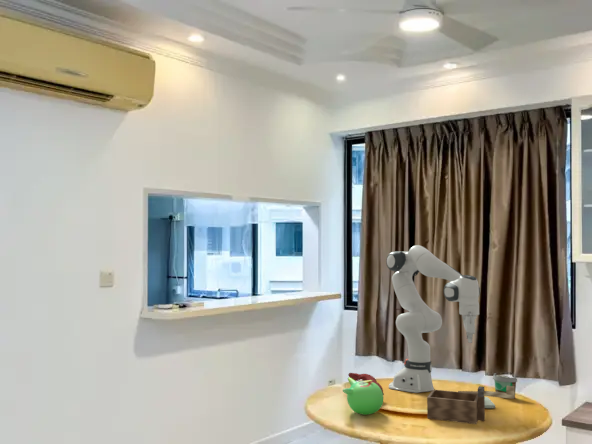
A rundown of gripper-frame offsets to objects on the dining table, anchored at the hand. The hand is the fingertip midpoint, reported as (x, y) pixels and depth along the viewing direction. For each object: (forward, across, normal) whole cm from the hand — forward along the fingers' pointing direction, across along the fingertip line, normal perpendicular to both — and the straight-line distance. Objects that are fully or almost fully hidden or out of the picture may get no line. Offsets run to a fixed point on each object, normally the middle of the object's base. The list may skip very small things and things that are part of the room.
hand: (469, 340), depth 277 cm
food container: (+29, +17, -16) cm, 38 cm away
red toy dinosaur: (+29, +6, +47) cm, 56 cm away
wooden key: (+19, -24, -10) cm, 32 cm away
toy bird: (+29, -24, +46) cm, 60 cm away
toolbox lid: (+29, 0, 0) cm, 29 cm away
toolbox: (+29, -21, +7) cm, 37 cm away
